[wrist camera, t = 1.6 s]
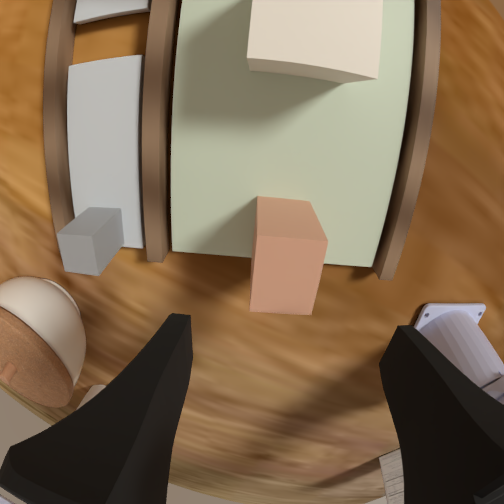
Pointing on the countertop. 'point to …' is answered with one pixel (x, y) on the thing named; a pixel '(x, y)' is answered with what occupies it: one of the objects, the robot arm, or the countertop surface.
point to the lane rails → (157, 118)
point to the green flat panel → (282, 154)
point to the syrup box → (393, 476)
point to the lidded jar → (40, 340)
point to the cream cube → (316, 38)
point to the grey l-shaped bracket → (104, 162)
